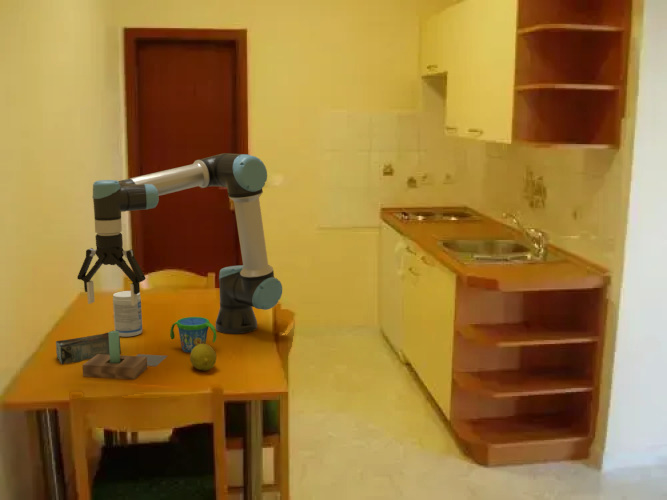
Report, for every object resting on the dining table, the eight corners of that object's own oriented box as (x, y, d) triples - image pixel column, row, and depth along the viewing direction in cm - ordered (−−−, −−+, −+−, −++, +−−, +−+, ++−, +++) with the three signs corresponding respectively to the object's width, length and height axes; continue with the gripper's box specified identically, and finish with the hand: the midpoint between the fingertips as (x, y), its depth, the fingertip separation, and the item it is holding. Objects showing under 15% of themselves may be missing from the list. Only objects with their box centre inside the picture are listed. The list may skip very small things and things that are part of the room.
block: (147, 369, 229) (146, 356, 228) (134, 380, 219) (133, 367, 219) (98, 366, 231) (97, 354, 231) (83, 377, 222) (82, 364, 221)
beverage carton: (55, 358, 239) (54, 338, 238) (115, 348, 249) (114, 330, 248) (61, 365, 233) (59, 345, 232) (122, 355, 243) (121, 336, 241)
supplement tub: (146, 334, 264) (144, 294, 261) (119, 339, 259) (117, 298, 256) (137, 328, 272) (135, 289, 269) (111, 332, 267) (109, 292, 264)
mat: (167, 357, 241) (167, 355, 240) (156, 367, 231) (156, 366, 231) (138, 355, 242) (138, 354, 242) (125, 365, 232) (125, 364, 232)
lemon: (218, 374, 225) (217, 349, 224) (191, 376, 224) (191, 350, 222) (214, 362, 236) (214, 338, 234) (189, 364, 234) (188, 340, 232)
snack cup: (222, 347, 250) (221, 318, 248) (207, 357, 240) (206, 327, 238) (180, 343, 255) (179, 314, 253) (164, 352, 245) (163, 322, 243)
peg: (122, 372, 227) (120, 331, 224) (118, 375, 224) (116, 333, 221) (113, 371, 227) (111, 330, 225) (108, 374, 224) (106, 333, 222)
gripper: (154, 232, 219) (157, 301, 223) (75, 230, 223) (79, 298, 227) (144, 236, 212) (147, 308, 216) (62, 234, 216) (67, 305, 220)
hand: (112, 303), depth 221 cm, fingers open, 13 cm apart
